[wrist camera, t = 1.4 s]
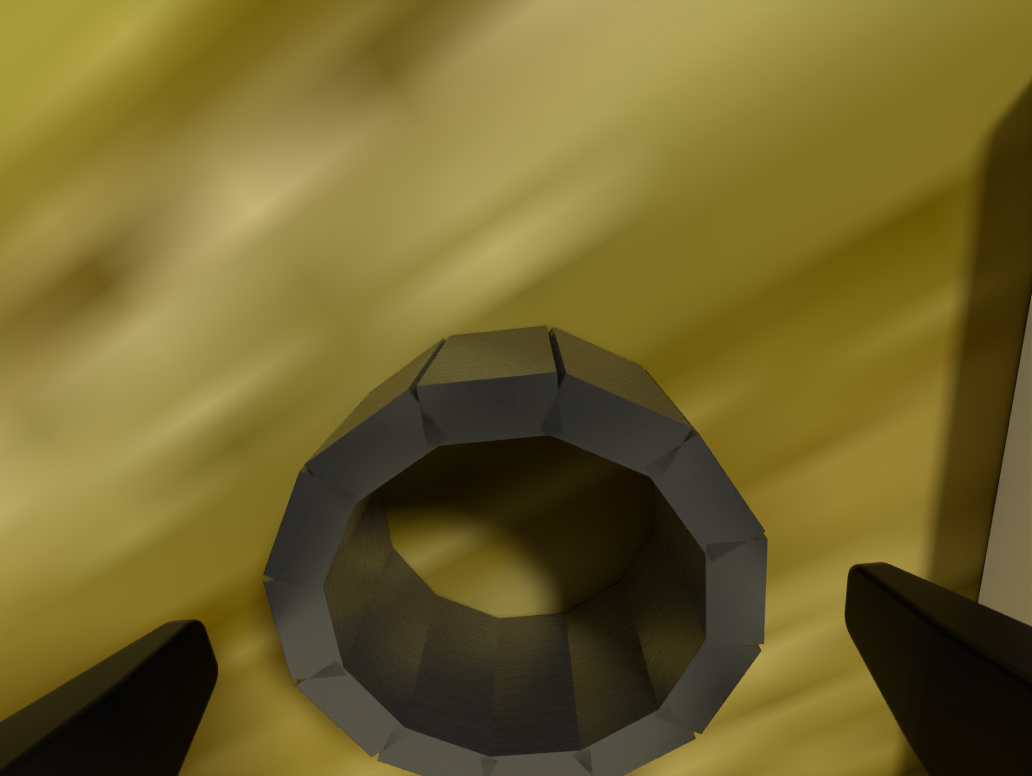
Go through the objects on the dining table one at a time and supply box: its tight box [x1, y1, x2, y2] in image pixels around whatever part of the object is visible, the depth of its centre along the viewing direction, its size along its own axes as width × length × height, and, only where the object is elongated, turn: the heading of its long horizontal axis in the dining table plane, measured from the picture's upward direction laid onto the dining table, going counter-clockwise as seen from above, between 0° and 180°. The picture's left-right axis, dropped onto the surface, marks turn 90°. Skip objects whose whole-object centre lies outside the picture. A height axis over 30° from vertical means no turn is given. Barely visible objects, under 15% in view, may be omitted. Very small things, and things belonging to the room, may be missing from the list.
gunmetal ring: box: [263, 326, 767, 776], centre depth 9 cm, size 7×7×3 cm
